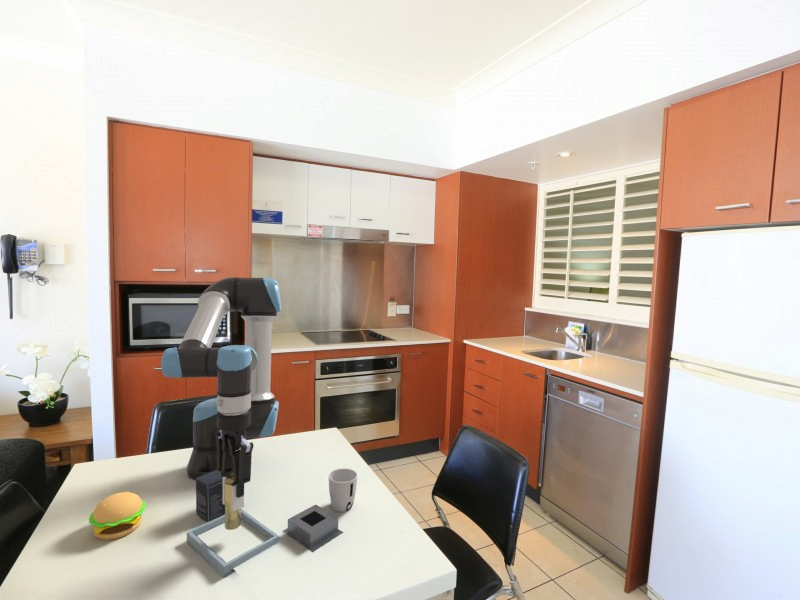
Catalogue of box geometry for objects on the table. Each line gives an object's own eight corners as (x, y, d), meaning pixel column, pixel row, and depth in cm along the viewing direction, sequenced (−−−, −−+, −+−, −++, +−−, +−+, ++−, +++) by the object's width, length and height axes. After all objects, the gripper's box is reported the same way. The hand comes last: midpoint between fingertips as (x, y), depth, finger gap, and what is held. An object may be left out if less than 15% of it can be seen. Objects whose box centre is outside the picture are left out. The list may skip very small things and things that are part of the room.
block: (282, 534, 104) (282, 517, 104) (313, 517, 112) (313, 501, 112) (312, 556, 97) (313, 537, 96) (343, 536, 104) (344, 519, 104)
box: (230, 498, 120) (230, 463, 120) (243, 505, 116) (244, 470, 116) (194, 514, 112) (194, 477, 111) (207, 523, 108) (208, 485, 107)
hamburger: (86, 550, 96) (85, 515, 96) (91, 523, 106) (91, 491, 106) (146, 534, 103) (145, 501, 102) (146, 510, 113) (145, 480, 112)
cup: (351, 519, 112) (352, 484, 111) (323, 515, 113) (324, 480, 113) (360, 503, 120) (361, 470, 119) (333, 499, 121) (334, 466, 120)
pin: (221, 525, 99) (222, 477, 99) (235, 519, 102) (236, 472, 101) (229, 531, 97) (230, 482, 96) (243, 524, 100) (244, 477, 99)
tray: (186, 541, 100) (186, 532, 100) (239, 516, 111) (239, 507, 111) (224, 577, 89) (224, 566, 89) (279, 545, 100) (279, 536, 100)
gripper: (201, 406, 100) (201, 498, 102) (237, 423, 90) (236, 526, 91) (230, 399, 106) (229, 487, 107) (267, 415, 96) (266, 511, 97)
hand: (233, 504), depth 99 cm, fingers closed on pin, 4 cm apart
